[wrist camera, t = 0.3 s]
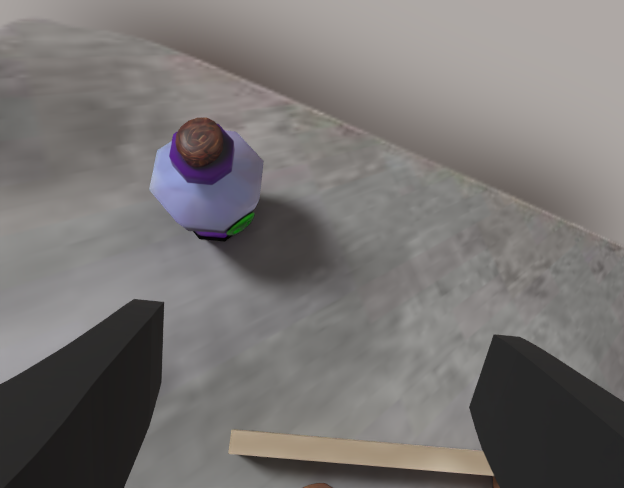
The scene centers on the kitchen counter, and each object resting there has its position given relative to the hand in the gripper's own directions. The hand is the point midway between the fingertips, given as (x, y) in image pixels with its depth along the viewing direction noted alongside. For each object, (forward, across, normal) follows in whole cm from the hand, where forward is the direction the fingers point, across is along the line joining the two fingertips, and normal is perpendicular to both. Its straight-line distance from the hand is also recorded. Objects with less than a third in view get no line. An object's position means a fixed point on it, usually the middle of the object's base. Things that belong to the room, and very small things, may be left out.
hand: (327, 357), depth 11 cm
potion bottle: (+32, +6, +9) cm, 34 cm away
